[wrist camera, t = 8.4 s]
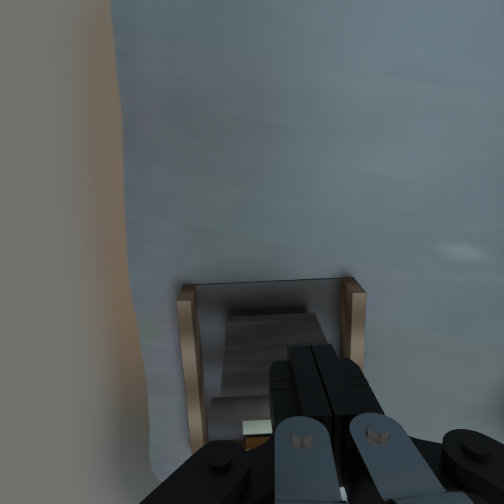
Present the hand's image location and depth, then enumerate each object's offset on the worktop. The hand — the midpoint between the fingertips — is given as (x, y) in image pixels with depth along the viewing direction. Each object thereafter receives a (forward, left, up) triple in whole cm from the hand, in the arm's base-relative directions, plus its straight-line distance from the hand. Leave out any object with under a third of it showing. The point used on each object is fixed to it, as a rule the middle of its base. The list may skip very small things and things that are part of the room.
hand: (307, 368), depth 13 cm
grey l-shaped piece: (+13, 0, -22) cm, 26 cm away
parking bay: (+14, 0, -23) cm, 27 cm away
